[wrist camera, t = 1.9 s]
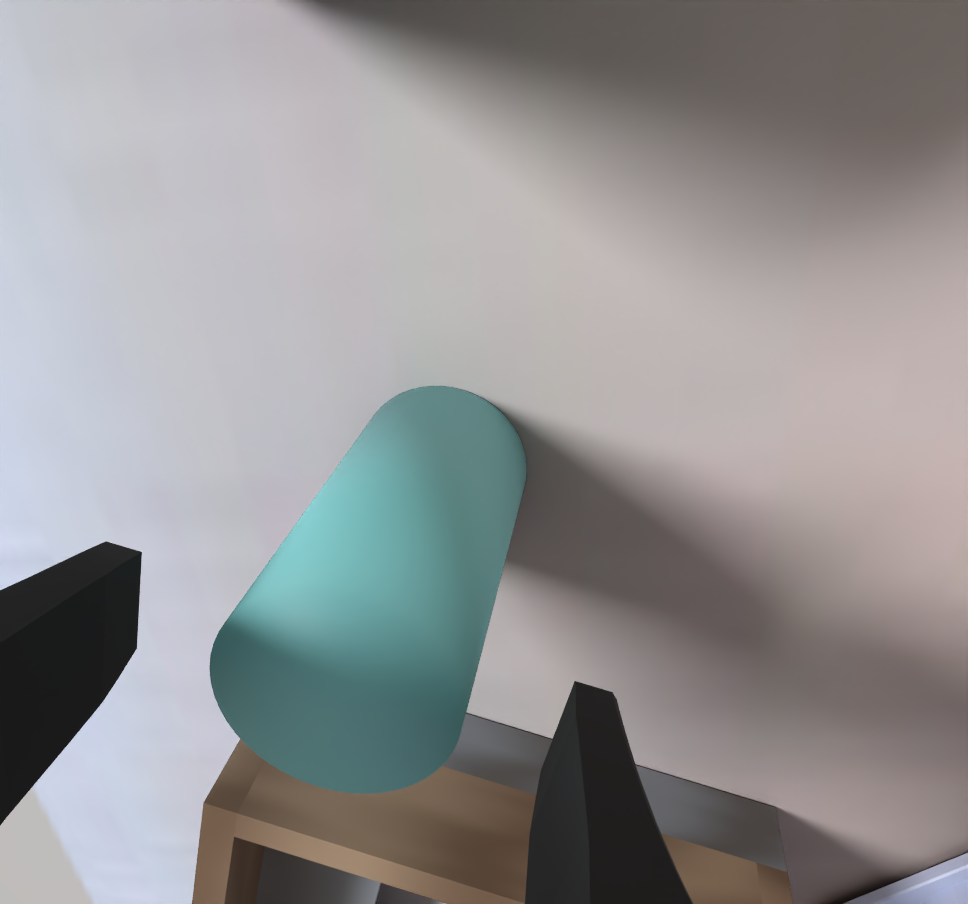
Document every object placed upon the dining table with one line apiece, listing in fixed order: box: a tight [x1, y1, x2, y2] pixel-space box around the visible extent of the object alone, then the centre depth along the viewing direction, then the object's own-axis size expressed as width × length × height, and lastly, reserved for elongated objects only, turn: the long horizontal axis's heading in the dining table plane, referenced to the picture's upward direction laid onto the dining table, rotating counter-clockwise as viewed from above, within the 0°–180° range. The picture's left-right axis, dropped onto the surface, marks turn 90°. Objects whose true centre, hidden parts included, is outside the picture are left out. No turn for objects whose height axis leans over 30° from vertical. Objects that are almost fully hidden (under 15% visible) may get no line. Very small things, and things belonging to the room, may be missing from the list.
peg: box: [210, 386, 527, 794], centre depth 16 cm, size 4×4×8 cm
